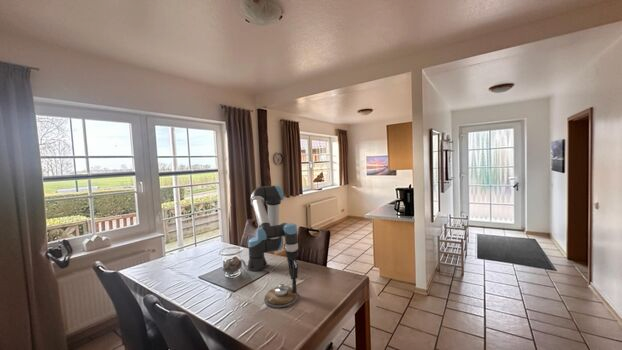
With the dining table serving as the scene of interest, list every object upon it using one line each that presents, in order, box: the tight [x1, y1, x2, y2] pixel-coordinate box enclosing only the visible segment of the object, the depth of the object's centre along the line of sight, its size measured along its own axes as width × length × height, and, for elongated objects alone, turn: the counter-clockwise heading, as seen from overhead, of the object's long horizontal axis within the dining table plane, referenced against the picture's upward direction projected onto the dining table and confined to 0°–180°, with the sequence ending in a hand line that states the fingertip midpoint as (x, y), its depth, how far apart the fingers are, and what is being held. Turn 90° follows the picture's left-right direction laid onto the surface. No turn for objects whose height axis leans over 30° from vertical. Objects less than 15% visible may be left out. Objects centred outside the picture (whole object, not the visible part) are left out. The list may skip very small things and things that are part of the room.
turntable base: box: [263, 292, 299, 309], centre depth 148 cm, size 20×20×1 cm
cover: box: [274, 283, 289, 297], centre depth 148 cm, size 8×8×5 cm
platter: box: [265, 283, 298, 305], centre depth 147 cm, size 18×18×6 cm
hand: (294, 287), depth 150 cm, fingers closed
